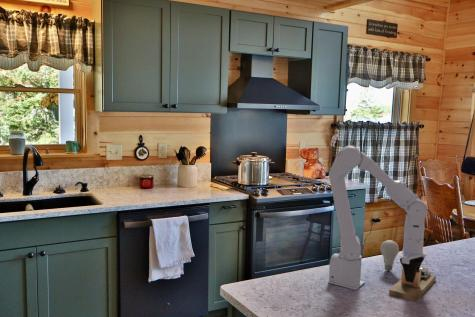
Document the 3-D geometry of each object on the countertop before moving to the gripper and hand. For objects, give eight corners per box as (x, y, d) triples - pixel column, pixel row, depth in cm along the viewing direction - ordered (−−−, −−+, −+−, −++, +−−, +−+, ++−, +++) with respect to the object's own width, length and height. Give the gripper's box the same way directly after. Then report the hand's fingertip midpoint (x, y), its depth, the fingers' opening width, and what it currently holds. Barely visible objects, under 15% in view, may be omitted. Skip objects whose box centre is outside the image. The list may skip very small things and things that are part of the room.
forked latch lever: (400, 284, 140) (401, 269, 139) (415, 270, 152) (416, 256, 151) (417, 288, 137) (418, 272, 136) (430, 274, 149) (431, 260, 148)
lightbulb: (401, 273, 154) (403, 242, 153) (387, 275, 152) (389, 243, 151) (389, 267, 160) (391, 237, 159) (375, 269, 157) (377, 238, 156)
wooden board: (388, 294, 136) (389, 289, 136) (410, 274, 153) (410, 270, 153) (416, 301, 131) (416, 296, 131) (435, 280, 148) (435, 275, 148)
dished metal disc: (413, 274, 148) (413, 268, 148) (416, 271, 152) (417, 265, 151) (425, 277, 146) (426, 271, 146) (429, 274, 149) (429, 268, 149)
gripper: (420, 245, 129) (417, 290, 131) (433, 235, 141) (430, 276, 142) (395, 240, 134) (393, 284, 135) (410, 231, 145) (407, 271, 147)
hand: (410, 280), depth 139 cm, fingers closed on forked latch lever, 2 cm apart
